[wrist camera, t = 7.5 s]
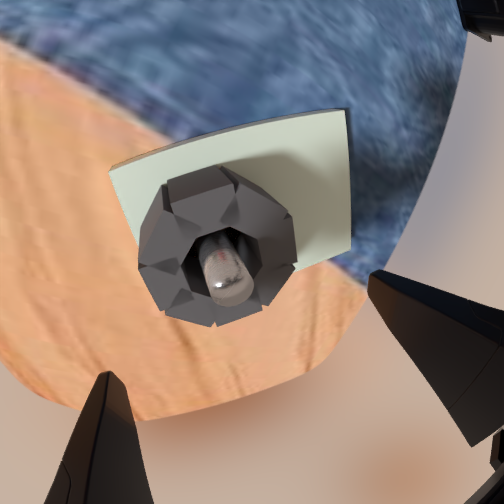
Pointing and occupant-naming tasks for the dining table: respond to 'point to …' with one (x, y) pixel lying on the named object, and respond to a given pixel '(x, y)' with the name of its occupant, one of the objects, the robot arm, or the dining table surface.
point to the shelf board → (262, 175)
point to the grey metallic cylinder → (223, 269)
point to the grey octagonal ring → (207, 221)
